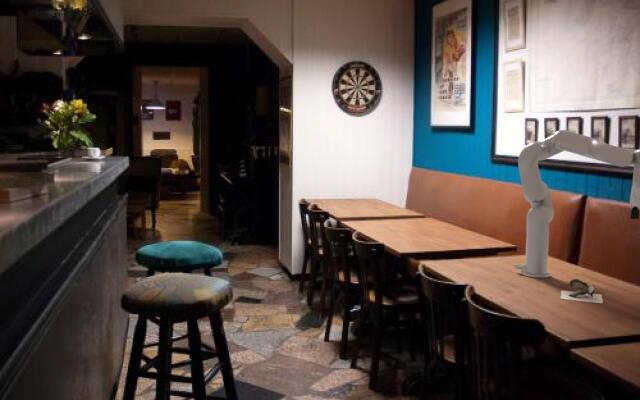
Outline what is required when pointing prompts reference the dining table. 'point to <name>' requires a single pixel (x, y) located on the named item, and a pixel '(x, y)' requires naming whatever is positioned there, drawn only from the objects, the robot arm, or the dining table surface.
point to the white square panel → (582, 297)
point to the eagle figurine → (582, 286)
